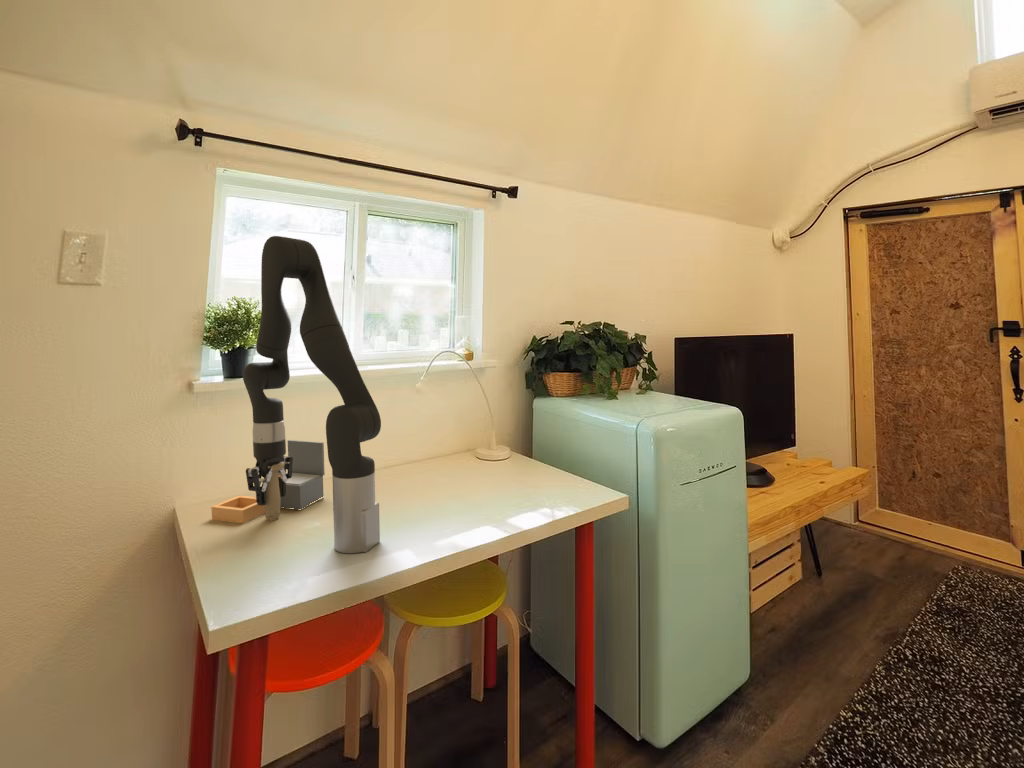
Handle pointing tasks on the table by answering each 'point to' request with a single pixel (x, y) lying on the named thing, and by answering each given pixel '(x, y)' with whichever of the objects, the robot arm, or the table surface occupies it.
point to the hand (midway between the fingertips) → (272, 500)
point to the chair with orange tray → (298, 488)
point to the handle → (273, 494)
